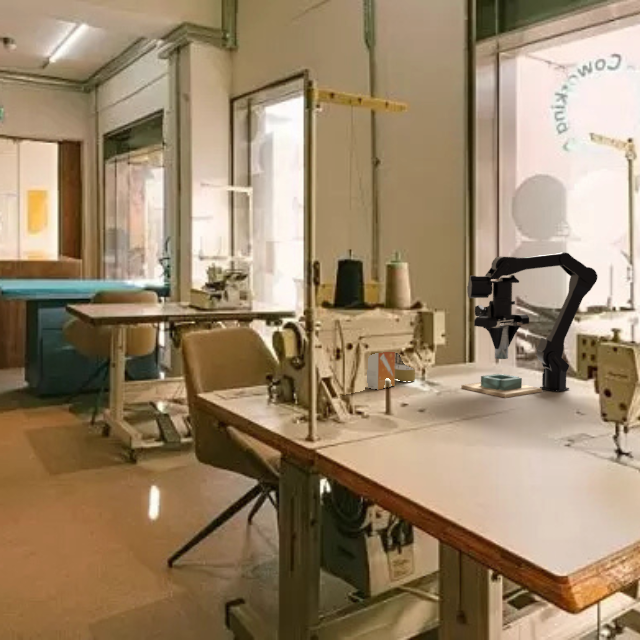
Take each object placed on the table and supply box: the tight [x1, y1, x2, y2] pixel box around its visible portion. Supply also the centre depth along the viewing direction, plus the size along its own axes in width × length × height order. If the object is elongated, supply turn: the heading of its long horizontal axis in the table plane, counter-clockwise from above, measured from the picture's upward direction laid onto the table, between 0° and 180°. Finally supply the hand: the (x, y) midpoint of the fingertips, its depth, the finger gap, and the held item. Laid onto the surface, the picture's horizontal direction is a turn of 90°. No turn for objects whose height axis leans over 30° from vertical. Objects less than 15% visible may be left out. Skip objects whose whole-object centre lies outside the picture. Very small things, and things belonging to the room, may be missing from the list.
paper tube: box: [395, 353, 416, 383], centre depth 245 cm, size 7×7×25 cm
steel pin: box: [494, 324, 509, 360], centre depth 229 cm, size 4×4×10 cm
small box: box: [367, 352, 396, 391], centre depth 235 cm, size 8×6×13 cm
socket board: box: [461, 373, 543, 399], centre depth 230 cm, size 18×16×4 cm
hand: (501, 348), depth 229 cm, fingers closed on steel pin, 4 cm apart
